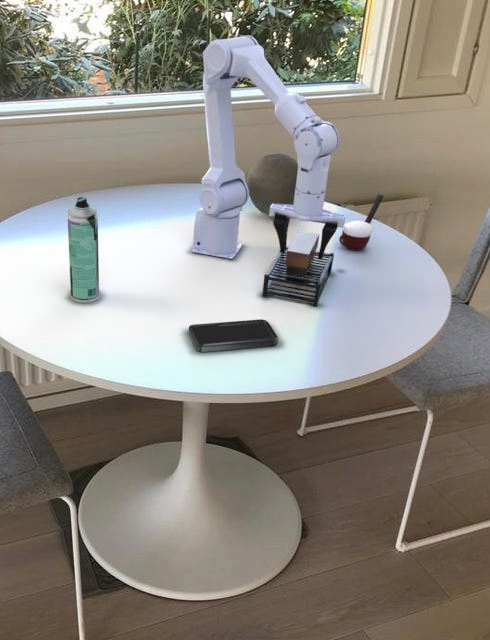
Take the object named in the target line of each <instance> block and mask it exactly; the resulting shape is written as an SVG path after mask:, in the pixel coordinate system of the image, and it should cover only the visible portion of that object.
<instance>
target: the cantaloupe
mask: <svg viewBox="0 0 490 640" xmlns="http://www.w3.org/2000/svg"><path fill="white" fill-rule="evenodd" d="M297 173H298V163H297V159H294V158H293V157H292V156H289V155H287V154H284V153H272V154H271V153H270V154H266V155H263V156H262V157H260V158H258V159H257V161H256V162H254V164H253V165H252V166H251V168H250V169H249V171H248V174H247V178H246V184H247V187H248V190H249V199H250V201H251V203H252V204H253V206H254V207H255V208H256V210H258V211H259V212H261V213H263V214H265V215H268V216H269V212H270V206H271V205H272V204H281V205H293V204H294V196H295V188H296V181H297Z"/></svg>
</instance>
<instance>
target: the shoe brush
mask: <svg viewBox="0 0 490 640" xmlns="http://www.w3.org/2000/svg"><path fill="white" fill-rule="evenodd" d="M319 240H320V233H317V232H310V231H304V230H297V232H296V233H295V235H294V237H293V239H292V241H291V242H290V245H288V247H289V248H288V250H287V251H286V252H287V253H286V256H285V257H286V261H285V265H287V269H286V273H287V274H293V275H298V276H304V277H305V275H306V273H307V271H308V269H309V267H310V265H311V264H312V261H313V259H314V257H316V256H315V252H316V251H317V249H318V248H319ZM313 262H314V261H313Z"/></svg>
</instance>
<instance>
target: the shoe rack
mask: <svg viewBox="0 0 490 640" xmlns="http://www.w3.org/2000/svg"><path fill="white" fill-rule="evenodd" d="M288 248H289V245H288V246H287V245H286V250H285V251H284V253H280V250H278V252H277V254H276V256H275V257H274V258H273V261H272V262H271V264H270V266H269V268H268V269H267V271H266V272H265V273H264V275H263V284H262V294H261V297H263V298H267V296H268V295H270V296H276V297H281V298H286V299H292V300H297V301H302V302H307V303H312V307H315V308H317V307H318V306H319V300H320V298H321V296H322V294H323V291H324V289H325V287H326V284H327V282H328V280H329V277H330V276H331V274H332V269H333V263H334V257H335V253H334V252H329V253H328V252H324V255H323V258H322V260H319V259H318V255H319V251H317V250H316V252H315V256H314V259H313V261H312V263H311V265H310V267H309V269H308V271H307V273H306V275H305V277H304V276H298V275H293V274H287V273H286V269H287V265H285V261H286V253H287V250H288ZM274 282H277V283H274ZM279 283H281V284H279ZM282 283H283V284H282ZM285 284H287V285H285ZM290 285H293V286H290ZM272 286H274V287H272ZM295 286H299V287H295ZM276 287H280V288H276ZM300 287H304V288H300ZM281 288H284V289H281ZM285 288H286V289H285ZM307 288H310V289H307ZM287 289H291V290H287ZM312 289H314V290H312ZM292 290H296V291H292ZM298 291H301V292H298ZM303 292H305V293H303ZM308 293H311V294H308ZM313 294H314V295H313Z"/></svg>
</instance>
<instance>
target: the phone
mask: <svg viewBox="0 0 490 640" xmlns="http://www.w3.org/2000/svg"><path fill="white" fill-rule="evenodd" d="M188 335H189V337H190V340H191V341H192V344H193V347H194V349H195V350H196V351H197V352H201V353H207V352H208V353H209V352H218V351H219V352H220V351H231V350H243V349H254V348H255V349H257V348H267V347H268V348H269V347H275V346H278V342H279V337H278V335H277V333H276V332H275V331H274V329H273V328H272V325H271V324H270V323H269V321H268V320H266V319H264V318H263V319H262V318H260V319H248V320H235V321H233V320H232V321H223V322H222V321H221V322H209V323H208V322H207V323H196V324H195V323H194V324H190V325H188Z"/></svg>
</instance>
